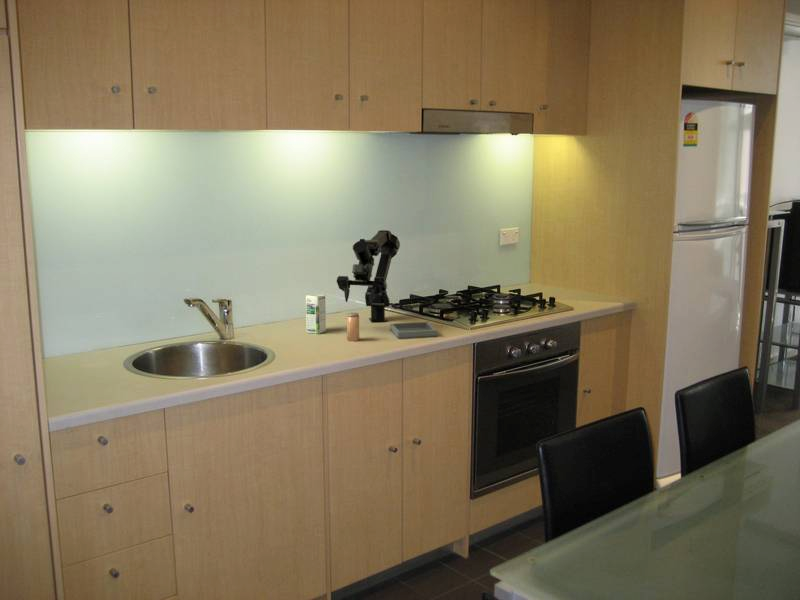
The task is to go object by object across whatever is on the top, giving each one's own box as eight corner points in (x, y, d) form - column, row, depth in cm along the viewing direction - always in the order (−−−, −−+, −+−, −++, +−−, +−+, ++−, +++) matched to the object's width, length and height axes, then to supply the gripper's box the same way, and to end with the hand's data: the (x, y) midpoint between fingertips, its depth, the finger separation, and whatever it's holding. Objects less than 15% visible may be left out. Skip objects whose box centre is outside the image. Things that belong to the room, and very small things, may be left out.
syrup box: (305, 332, 306) (304, 296, 303) (314, 329, 311) (313, 293, 309) (318, 334, 304) (317, 297, 301) (326, 331, 309) (325, 294, 306)
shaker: (346, 339, 296) (345, 312, 294) (358, 338, 297) (357, 312, 295) (348, 341, 292) (347, 315, 290) (360, 341, 293) (359, 314, 291)
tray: (390, 329, 310) (390, 323, 310) (427, 327, 313) (427, 321, 313) (398, 339, 296) (398, 332, 295) (437, 336, 299) (437, 330, 298)
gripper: (337, 255, 303) (329, 288, 294) (384, 256, 299) (378, 290, 290) (343, 272, 312) (336, 305, 303) (389, 273, 308) (383, 307, 299)
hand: (357, 301), depth 299 cm, fingers open, 9 cm apart
